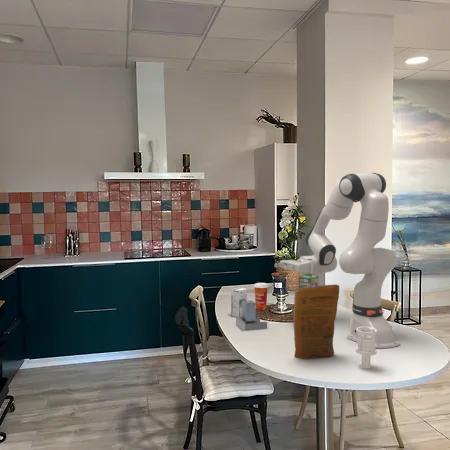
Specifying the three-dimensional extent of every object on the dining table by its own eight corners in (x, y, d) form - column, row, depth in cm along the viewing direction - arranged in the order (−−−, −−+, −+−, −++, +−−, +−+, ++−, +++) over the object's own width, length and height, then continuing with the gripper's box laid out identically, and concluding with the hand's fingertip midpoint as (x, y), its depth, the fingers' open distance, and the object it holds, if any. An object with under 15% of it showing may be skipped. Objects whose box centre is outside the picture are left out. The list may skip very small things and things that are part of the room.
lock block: (256, 327, 206) (256, 302, 205) (245, 329, 204) (245, 303, 204) (252, 324, 211) (252, 300, 210) (241, 326, 209) (241, 301, 208)
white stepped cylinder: (365, 372, 154) (366, 330, 153) (351, 365, 160) (352, 325, 159) (380, 368, 157) (381, 327, 156) (366, 362, 163) (366, 322, 162)
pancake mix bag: (342, 357, 168) (343, 285, 166) (295, 361, 164) (295, 287, 162) (335, 351, 174) (335, 282, 172) (289, 355, 171) (289, 284, 169)
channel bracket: (259, 322, 215) (259, 314, 214) (267, 328, 205) (267, 320, 205) (236, 324, 211) (236, 316, 211) (243, 331, 202) (243, 322, 201)
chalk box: (318, 294, 276) (318, 270, 275) (311, 296, 269) (311, 272, 268) (305, 292, 282) (306, 269, 281) (298, 294, 275) (298, 271, 274)
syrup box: (238, 314, 230) (238, 286, 229) (247, 316, 226) (246, 288, 225) (231, 316, 226) (230, 288, 225) (239, 318, 222) (239, 290, 221)
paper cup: (251, 309, 240) (251, 284, 239) (259, 306, 245) (259, 282, 244) (262, 311, 234) (262, 286, 233) (271, 309, 240) (271, 283, 239)
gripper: (295, 256, 224) (270, 258, 220) (315, 260, 205) (288, 262, 201) (295, 269, 225) (270, 270, 220) (315, 274, 205) (288, 275, 201)
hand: (279, 266), depth 210 cm, fingers open, 8 cm apart
